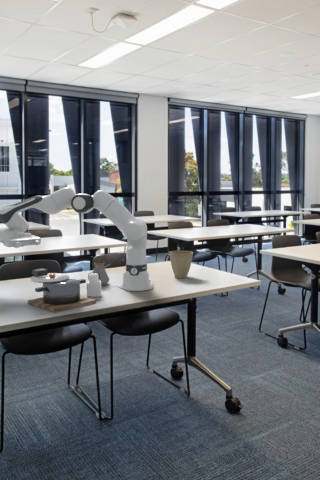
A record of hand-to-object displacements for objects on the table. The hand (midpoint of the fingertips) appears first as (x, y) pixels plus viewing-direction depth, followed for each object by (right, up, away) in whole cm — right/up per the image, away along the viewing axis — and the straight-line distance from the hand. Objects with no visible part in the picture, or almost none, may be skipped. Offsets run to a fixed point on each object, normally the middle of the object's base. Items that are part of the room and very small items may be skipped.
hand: (30, 244), depth 240 cm
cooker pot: (+19, -28, -12) cm, 36 cm away
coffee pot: (+37, -24, +31) cm, 54 cm away
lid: (+11, -17, -6) cm, 21 cm away
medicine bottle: (+33, -27, +4) cm, 43 cm away
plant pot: (+81, -21, +49) cm, 97 cm away
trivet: (+19, -29, -12) cm, 37 cm away
